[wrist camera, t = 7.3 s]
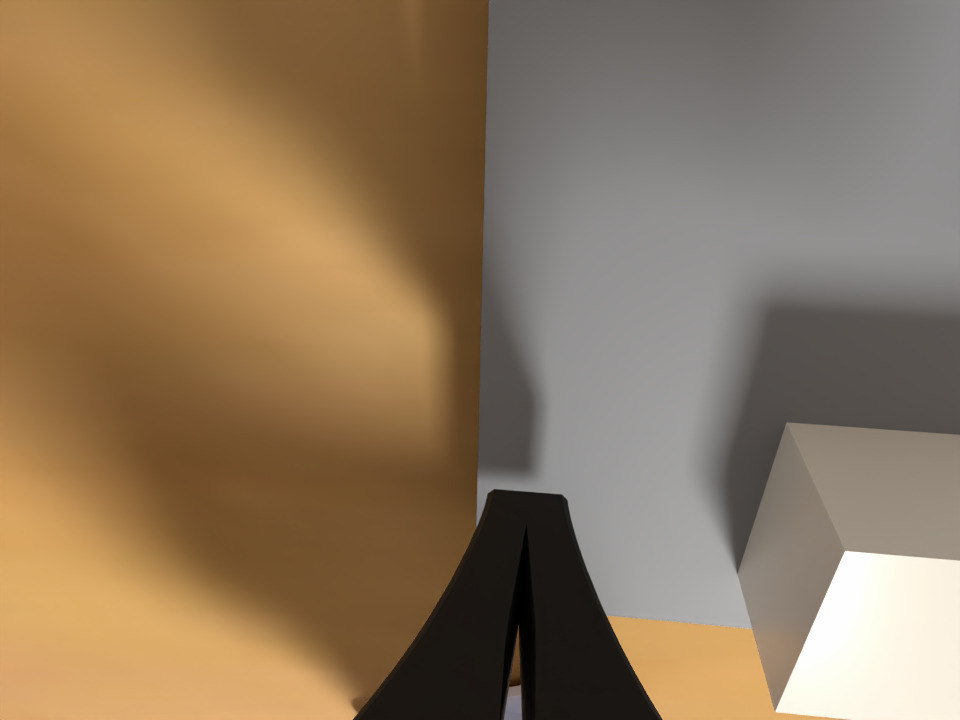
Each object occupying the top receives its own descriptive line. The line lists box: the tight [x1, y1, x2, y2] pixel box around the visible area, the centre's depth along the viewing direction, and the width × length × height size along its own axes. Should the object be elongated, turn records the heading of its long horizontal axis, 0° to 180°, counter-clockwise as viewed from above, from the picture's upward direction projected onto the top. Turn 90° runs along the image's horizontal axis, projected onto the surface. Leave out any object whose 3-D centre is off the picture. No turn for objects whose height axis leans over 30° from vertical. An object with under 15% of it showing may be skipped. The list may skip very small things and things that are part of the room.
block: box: [737, 422, 960, 720], centre depth 12 cm, size 4×4×3 cm
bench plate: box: [476, 0, 960, 629], centre depth 13 cm, size 12×13×2 cm
